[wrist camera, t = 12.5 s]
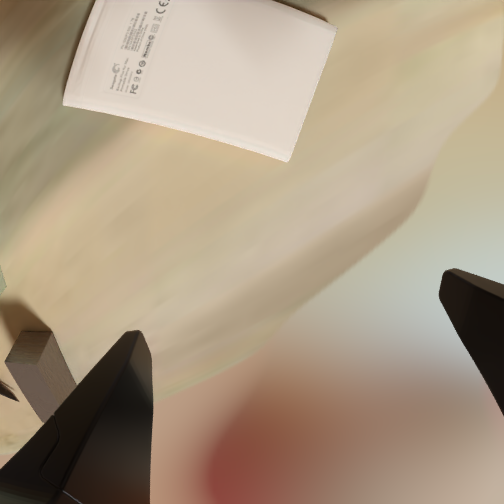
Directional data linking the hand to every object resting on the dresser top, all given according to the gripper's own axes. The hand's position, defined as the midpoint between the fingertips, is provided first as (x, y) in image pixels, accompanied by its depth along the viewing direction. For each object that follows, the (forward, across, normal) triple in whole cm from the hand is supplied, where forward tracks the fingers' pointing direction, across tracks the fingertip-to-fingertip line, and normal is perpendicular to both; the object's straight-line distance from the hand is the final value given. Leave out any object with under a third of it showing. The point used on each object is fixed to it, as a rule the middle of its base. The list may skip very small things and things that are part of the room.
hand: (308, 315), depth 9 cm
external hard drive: (+12, +2, -8) cm, 14 cm away
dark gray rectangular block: (+10, +18, +10) cm, 23 cm away
